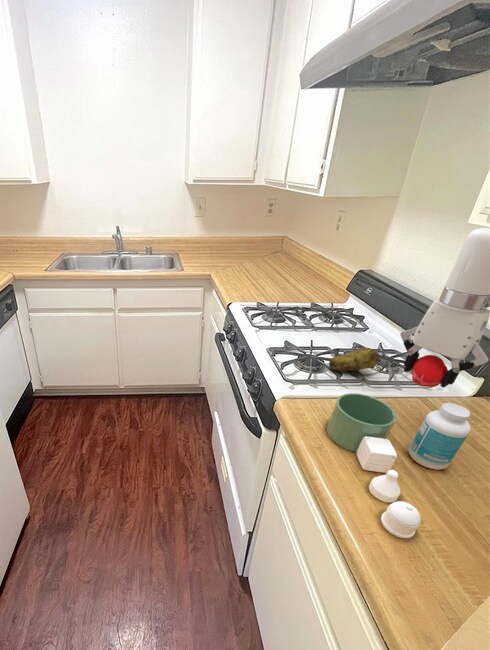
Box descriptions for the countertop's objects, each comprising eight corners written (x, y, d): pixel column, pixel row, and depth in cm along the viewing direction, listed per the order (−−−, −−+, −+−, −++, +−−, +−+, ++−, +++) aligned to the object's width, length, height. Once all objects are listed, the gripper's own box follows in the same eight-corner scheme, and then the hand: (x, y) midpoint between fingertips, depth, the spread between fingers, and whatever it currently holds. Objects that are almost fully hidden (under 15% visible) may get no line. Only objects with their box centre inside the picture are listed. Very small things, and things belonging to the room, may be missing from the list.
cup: (392, 440, 80) (406, 413, 76) (363, 461, 75) (377, 433, 70) (345, 413, 88) (355, 387, 84) (316, 430, 83) (325, 403, 78)
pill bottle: (455, 469, 73) (490, 419, 66) (425, 473, 72) (456, 423, 65) (427, 445, 79) (456, 397, 72) (399, 448, 78) (425, 400, 71)
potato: (328, 360, 112) (335, 337, 108) (372, 369, 108) (381, 346, 103) (326, 372, 106) (334, 348, 101) (373, 382, 101) (383, 358, 97)
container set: (354, 454, 76) (363, 435, 73) (379, 457, 76) (389, 438, 73) (386, 535, 60) (399, 515, 57) (419, 540, 59) (434, 521, 56)
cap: (444, 394, 73) (457, 369, 69) (411, 387, 75) (422, 363, 71) (437, 376, 79) (448, 353, 75) (406, 370, 81) (417, 347, 78)
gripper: (528, 308, 62) (479, 390, 72) (424, 284, 74) (394, 357, 84) (514, 317, 59) (464, 402, 68) (407, 290, 71) (377, 365, 81)
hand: (426, 376), depth 76 cm, fingers closed on cap, 6 cm apart
